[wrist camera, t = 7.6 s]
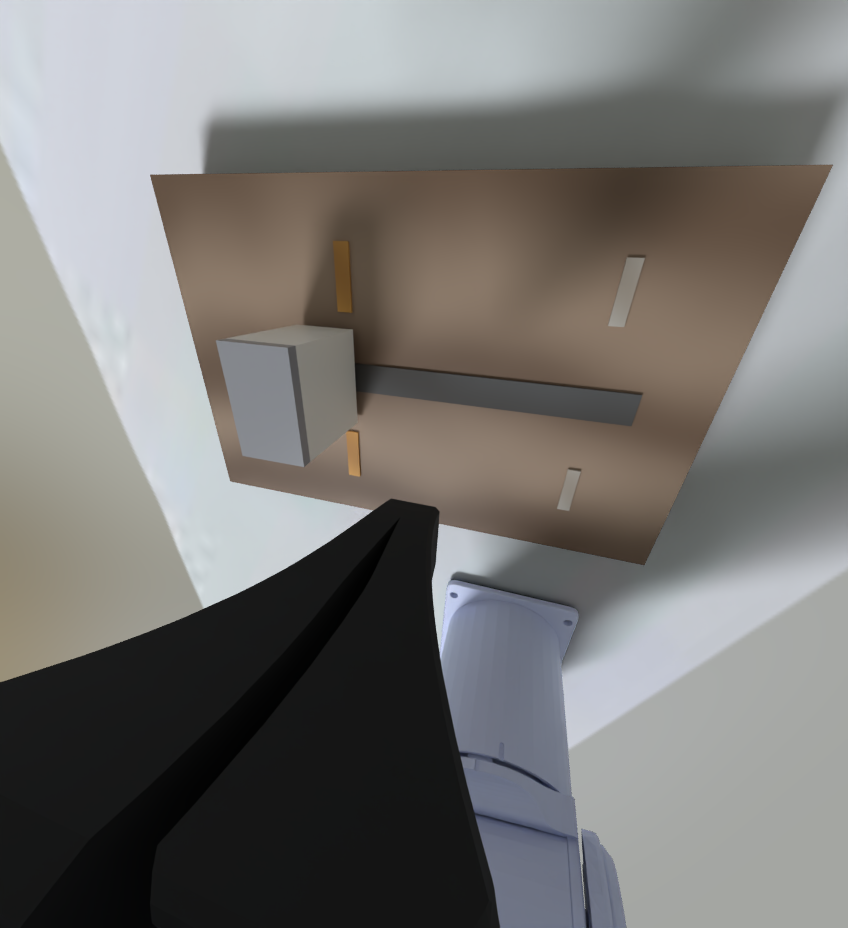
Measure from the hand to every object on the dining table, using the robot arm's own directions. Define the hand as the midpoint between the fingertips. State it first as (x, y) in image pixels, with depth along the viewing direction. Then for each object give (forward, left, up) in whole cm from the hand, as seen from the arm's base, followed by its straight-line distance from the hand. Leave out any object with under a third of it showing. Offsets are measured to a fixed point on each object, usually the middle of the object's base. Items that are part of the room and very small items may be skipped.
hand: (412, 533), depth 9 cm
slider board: (+2, +2, -9) cm, 10 cm away
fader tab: (+2, +6, -7) cm, 9 cm away
